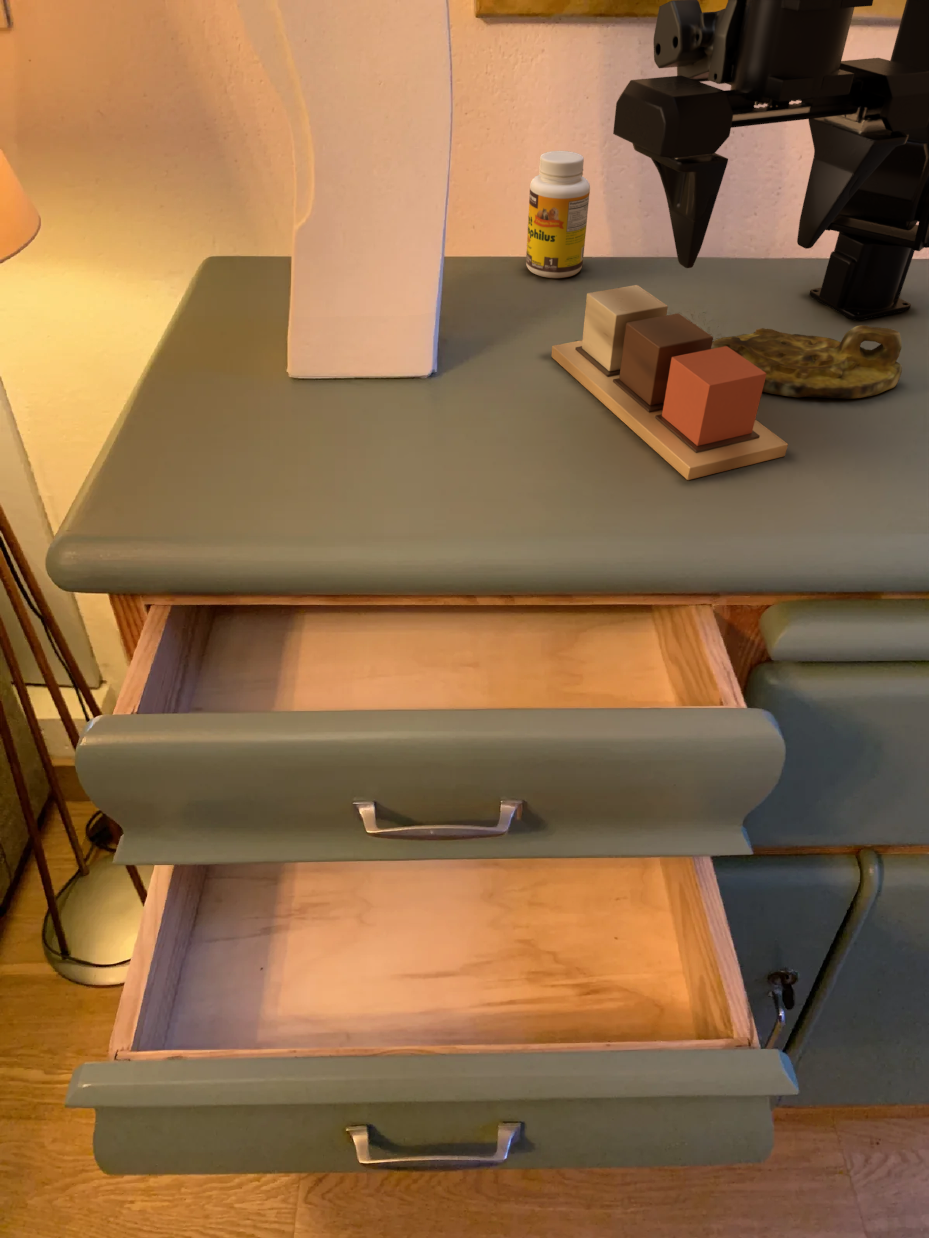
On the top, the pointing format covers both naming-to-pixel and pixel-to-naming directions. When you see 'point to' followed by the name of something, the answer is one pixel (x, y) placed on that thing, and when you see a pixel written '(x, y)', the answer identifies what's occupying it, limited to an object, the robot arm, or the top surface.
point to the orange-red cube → (713, 395)
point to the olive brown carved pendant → (822, 362)
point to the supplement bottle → (557, 216)
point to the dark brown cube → (657, 352)
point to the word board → (600, 374)
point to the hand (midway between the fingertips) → (745, 256)
